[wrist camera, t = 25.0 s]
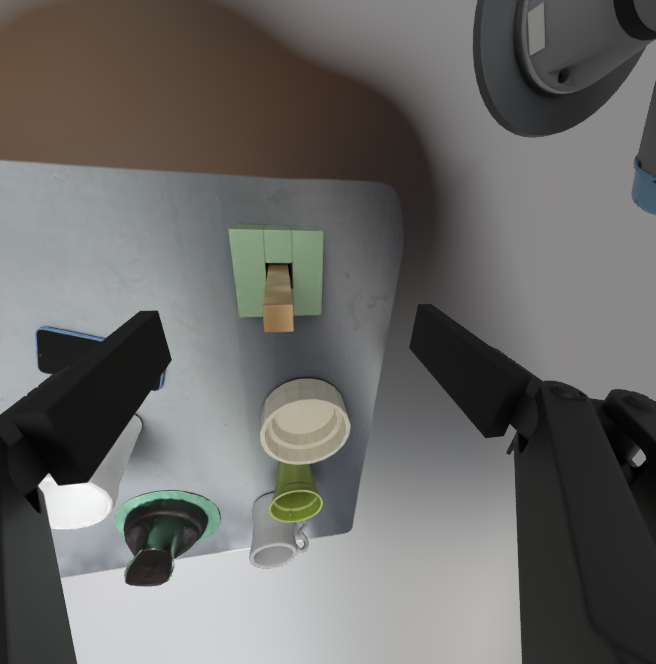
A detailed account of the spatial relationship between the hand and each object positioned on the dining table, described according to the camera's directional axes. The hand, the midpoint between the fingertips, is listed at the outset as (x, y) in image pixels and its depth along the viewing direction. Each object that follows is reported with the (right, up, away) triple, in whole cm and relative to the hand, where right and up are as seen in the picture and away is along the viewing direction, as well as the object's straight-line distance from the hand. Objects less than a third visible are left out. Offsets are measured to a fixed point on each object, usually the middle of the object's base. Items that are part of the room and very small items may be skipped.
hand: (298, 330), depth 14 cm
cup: (-32, -15, +29) cm, 45 cm away
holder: (-5, +9, +22) cm, 24 cm away
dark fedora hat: (-32, -40, +42) cm, 66 cm away
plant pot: (-5, -27, +40) cm, 49 cm away
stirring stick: (-5, +9, +22) cm, 24 cm away
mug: (-9, -39, +45) cm, 60 cm away
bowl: (-3, -14, +34) cm, 36 cm away
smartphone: (-30, -4, +24) cm, 38 cm away
